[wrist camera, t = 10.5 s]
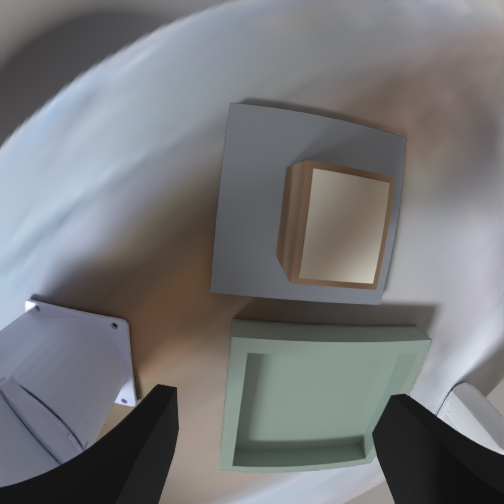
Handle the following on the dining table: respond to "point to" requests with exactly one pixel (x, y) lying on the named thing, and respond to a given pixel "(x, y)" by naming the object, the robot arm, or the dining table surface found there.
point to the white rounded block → (474, 417)
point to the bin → (312, 392)
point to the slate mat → (271, 195)
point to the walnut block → (333, 225)
